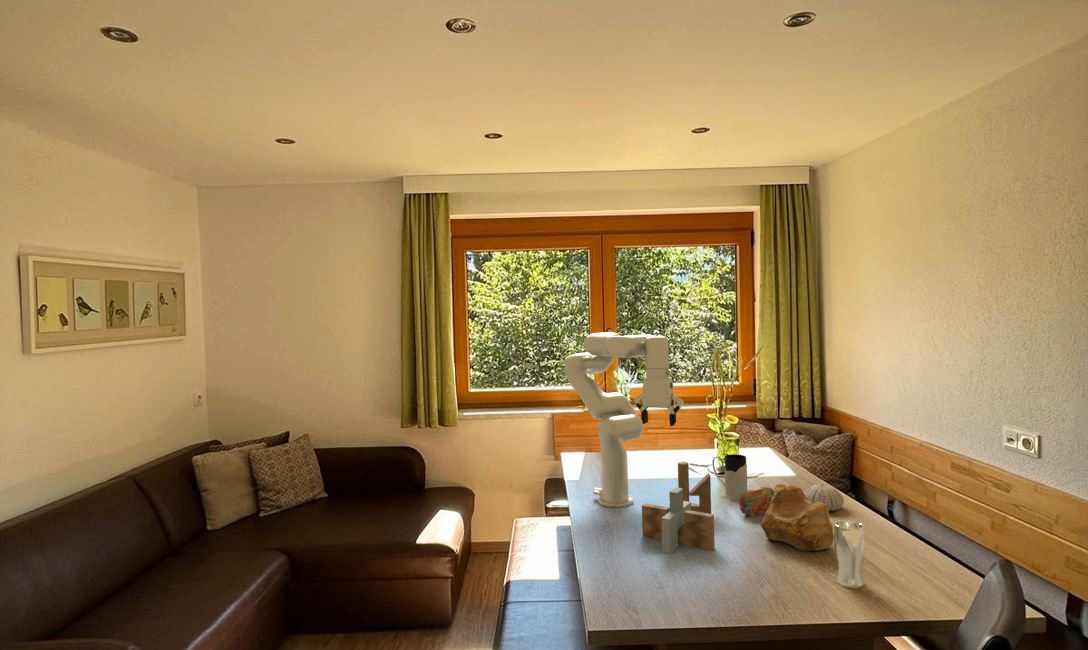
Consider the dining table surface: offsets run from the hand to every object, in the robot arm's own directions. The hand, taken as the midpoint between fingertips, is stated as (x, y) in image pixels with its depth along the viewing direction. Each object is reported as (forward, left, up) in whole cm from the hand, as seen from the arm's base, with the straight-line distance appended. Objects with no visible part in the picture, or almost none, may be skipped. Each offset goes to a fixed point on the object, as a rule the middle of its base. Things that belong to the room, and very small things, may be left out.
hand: (658, 424), depth 210 cm
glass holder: (+12, +37, -32) cm, 51 cm away
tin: (+26, +22, -33) cm, 47 cm away
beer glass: (+60, -21, -32) cm, 71 cm away
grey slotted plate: (+12, -16, -32) cm, 38 cm away
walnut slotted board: (+12, -16, -32) cm, 38 cm away
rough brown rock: (+41, +1, -33) cm, 52 cm away
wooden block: (+8, +10, -32) cm, 35 cm away
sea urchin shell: (+44, +38, -33) cm, 67 cm away
